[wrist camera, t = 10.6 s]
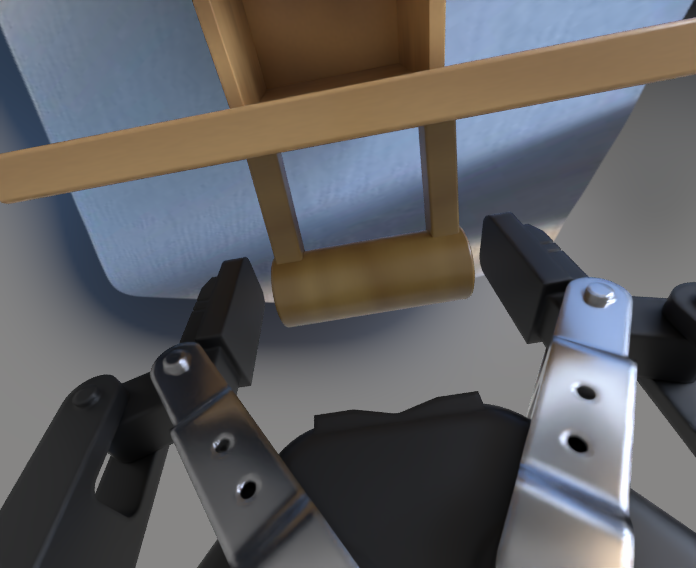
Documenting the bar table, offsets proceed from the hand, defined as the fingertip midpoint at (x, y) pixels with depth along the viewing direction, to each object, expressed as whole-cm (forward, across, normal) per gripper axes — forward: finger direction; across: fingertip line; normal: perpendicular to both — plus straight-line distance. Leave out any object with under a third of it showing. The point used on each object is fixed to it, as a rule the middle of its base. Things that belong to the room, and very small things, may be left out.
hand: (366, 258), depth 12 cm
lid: (+5, 0, -4) cm, 6 cm away
